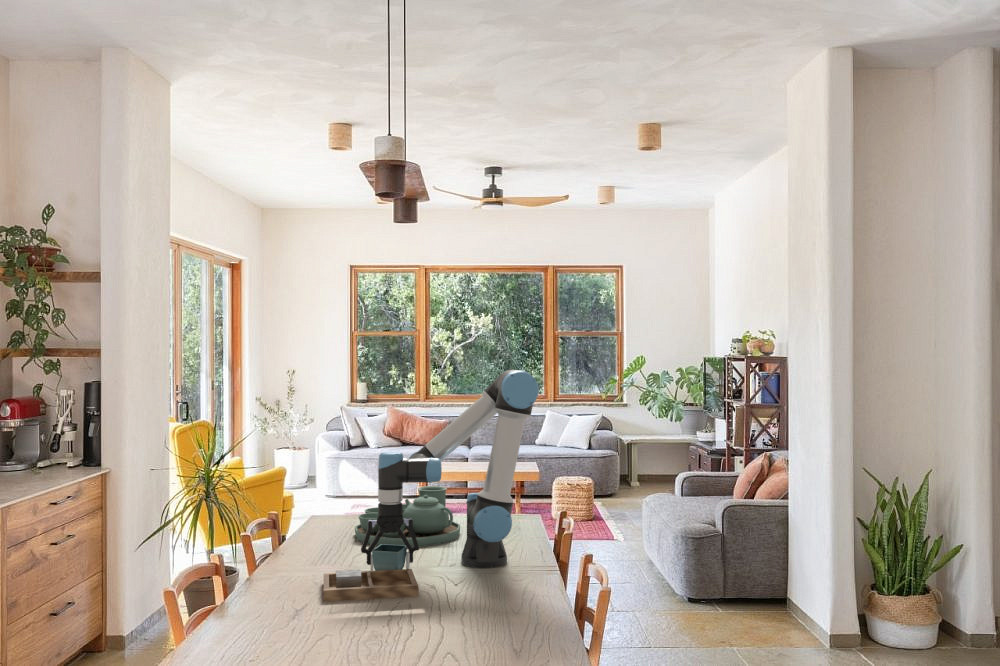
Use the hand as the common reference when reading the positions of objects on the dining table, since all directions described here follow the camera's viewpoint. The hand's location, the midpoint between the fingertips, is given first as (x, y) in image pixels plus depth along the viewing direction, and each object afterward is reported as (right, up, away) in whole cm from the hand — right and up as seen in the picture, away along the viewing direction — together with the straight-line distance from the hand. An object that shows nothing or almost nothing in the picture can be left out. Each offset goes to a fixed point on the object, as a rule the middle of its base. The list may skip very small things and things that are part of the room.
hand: (389, 574), depth 256 cm
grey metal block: (-9, +1, -18) cm, 21 cm away
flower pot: (0, -1, 0) cm, 1 cm away
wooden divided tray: (-4, 0, -17) cm, 17 cm away
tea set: (-1, -3, +58) cm, 58 cm away
